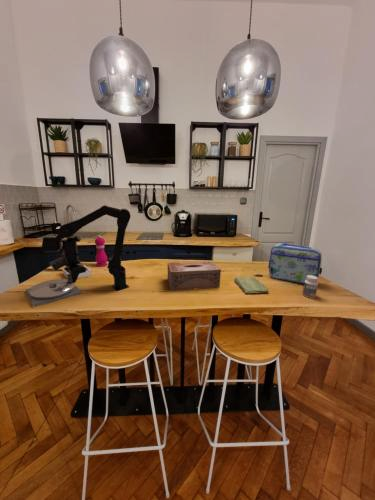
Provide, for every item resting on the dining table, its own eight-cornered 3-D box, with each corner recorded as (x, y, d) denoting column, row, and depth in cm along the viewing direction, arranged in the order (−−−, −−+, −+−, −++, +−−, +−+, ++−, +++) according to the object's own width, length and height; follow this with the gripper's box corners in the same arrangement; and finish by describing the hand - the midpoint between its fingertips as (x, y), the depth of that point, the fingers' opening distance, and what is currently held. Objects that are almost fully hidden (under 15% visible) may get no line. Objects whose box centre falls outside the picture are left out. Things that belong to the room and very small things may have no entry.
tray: (92, 275, 122) (91, 270, 121) (69, 280, 114) (68, 275, 113) (84, 269, 130) (84, 264, 129) (63, 274, 122) (62, 269, 121)
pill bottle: (303, 291, 108) (307, 273, 105) (316, 295, 104) (320, 276, 102) (301, 295, 104) (304, 277, 101) (314, 299, 100) (318, 280, 98)
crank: (33, 303, 88) (31, 290, 86) (26, 288, 100) (24, 277, 99) (81, 290, 100) (79, 279, 98) (69, 279, 112) (68, 268, 111)
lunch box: (265, 277, 126) (270, 243, 120) (269, 272, 134) (274, 240, 129) (316, 288, 112) (323, 250, 106) (317, 282, 121) (324, 246, 115)
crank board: (81, 293, 100) (81, 290, 100) (33, 307, 87) (32, 304, 87) (69, 281, 113) (69, 278, 113) (25, 291, 100) (25, 288, 100)
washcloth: (245, 295, 103) (246, 289, 102) (232, 281, 120) (233, 275, 119) (270, 294, 105) (271, 288, 104) (254, 280, 122) (255, 275, 121)
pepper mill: (103, 267, 134) (101, 236, 129) (93, 266, 136) (90, 236, 130) (109, 264, 141) (107, 234, 136) (100, 263, 142) (97, 233, 137)
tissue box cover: (170, 290, 106) (170, 272, 103) (167, 279, 119) (167, 262, 117) (219, 287, 111) (220, 269, 108) (211, 277, 125) (212, 261, 122)
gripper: (45, 249, 98) (50, 280, 102) (55, 259, 85) (60, 294, 89) (71, 245, 105) (75, 275, 109) (84, 254, 92) (88, 287, 96)
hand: (74, 282), depth 101 cm, fingers closed
